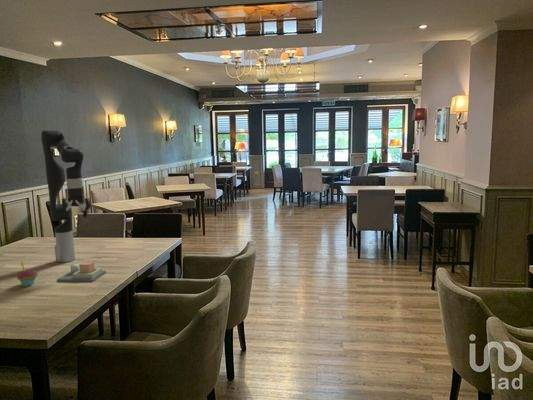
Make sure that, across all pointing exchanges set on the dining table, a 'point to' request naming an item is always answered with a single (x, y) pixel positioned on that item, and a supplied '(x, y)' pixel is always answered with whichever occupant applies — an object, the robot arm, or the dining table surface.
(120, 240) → the dining table surface
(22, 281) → the cupcake
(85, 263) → the block
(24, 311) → the dining table surface
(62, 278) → the base board
